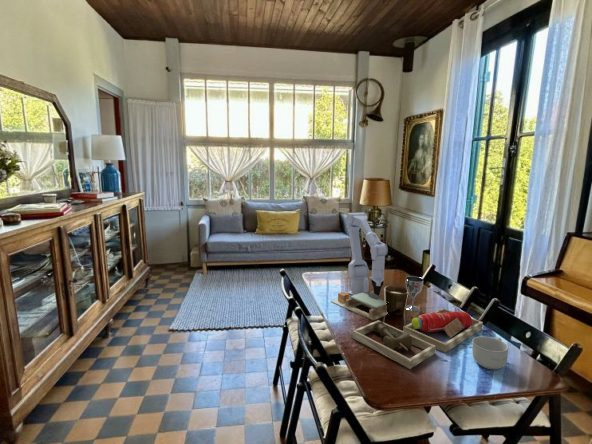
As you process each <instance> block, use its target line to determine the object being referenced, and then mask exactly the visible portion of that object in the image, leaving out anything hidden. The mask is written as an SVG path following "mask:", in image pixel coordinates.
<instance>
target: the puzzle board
mask: <svg viewBox="0 0 592 444" xmlns="http://www.w3.org/2000/svg"><path fill="white" fill-rule="evenodd" d="M370 292H372V293H374V290H371V291H368V292H367V293H365V294H369V293H370ZM349 298H350V299H347V300H346V301H345V305H344V307H343V308H344V309H347V310H349V311H351V312H353V313H356V314H358V315H360V316H361V317H362V316H363V317H365V318H366V317H367V319H369V320H371V321H377V320H379V319H380V318H383V317H385V316H388V315H389V314H388V312H387V305H384V306H381V307H379V308H374V307H372V306H369V305H367V304H365V303H362V302H360V301H357V300H355V299H353V298H351V297H349ZM358 306H364V307H366V308H368V311H369V312H366V311H364V310H361V309H359V308H357V307H358ZM387 314H388V315H387Z"/></svg>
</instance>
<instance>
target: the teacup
mask: <svg viewBox="0 0 592 444" xmlns="http://www.w3.org/2000/svg"><path fill="white" fill-rule="evenodd" d="M471 343H472V347H471V348H472V352H471V353H472V357H473V360H474V361H475V362H477V364H479V366H481V367H483V368H484V369H489V370H499V369H501V368H503V367H504V366H507V365H506V364H507V362H508V358H509V357H508V356H509V355H508V354H509V346H508V344H507V343H506V342H505V341H503V340H502V338H500V337H497V336H496V337H495V338H494V337H492V336H491V337H490V336H483V335H482V336H481V335H479V336H476V337H473V338H472V340H471Z"/></svg>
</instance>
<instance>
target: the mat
mask: <svg viewBox="0 0 592 444" xmlns="http://www.w3.org/2000/svg"><path fill="white" fill-rule="evenodd" d="M350 298H351V297H349V299H350ZM330 302H331V303H332V304H335V305H337V306H339V307H342V308H345V307H344V305H345V303H342V302H339V301H338V298H336V299H333V300H330Z"/></svg>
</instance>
